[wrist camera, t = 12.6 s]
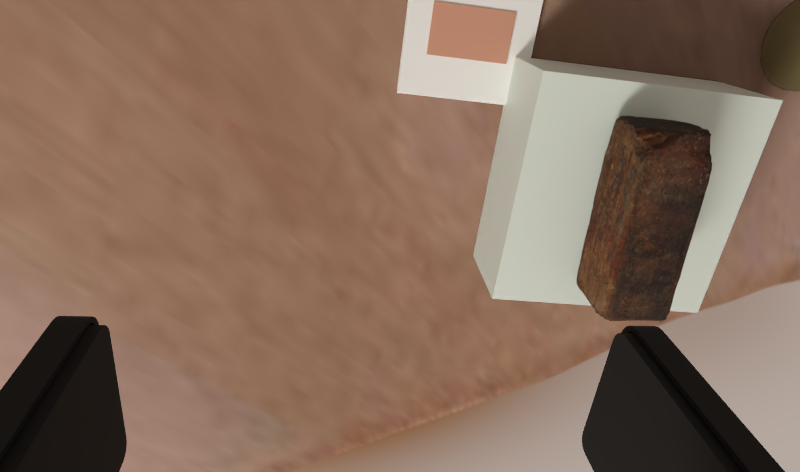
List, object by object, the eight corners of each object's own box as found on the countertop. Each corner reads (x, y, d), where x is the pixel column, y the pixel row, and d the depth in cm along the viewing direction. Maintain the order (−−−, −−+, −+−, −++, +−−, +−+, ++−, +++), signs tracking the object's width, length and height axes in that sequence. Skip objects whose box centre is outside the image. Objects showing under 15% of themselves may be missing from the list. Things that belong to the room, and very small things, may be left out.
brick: (632, 283, 36) (670, 324, 32) (571, 281, 35) (602, 323, 31) (677, 115, 32) (729, 137, 27) (609, 112, 31) (651, 133, 27)
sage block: (513, 55, 35) (543, 70, 30) (719, 81, 37) (783, 100, 32) (473, 255, 41) (492, 298, 36) (653, 269, 43) (697, 312, 37)
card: (413, -50, 32) (414, -51, 32) (547, -31, 33) (550, -31, 33) (396, 91, 36) (397, 93, 35) (518, 105, 37) (520, 107, 36)
